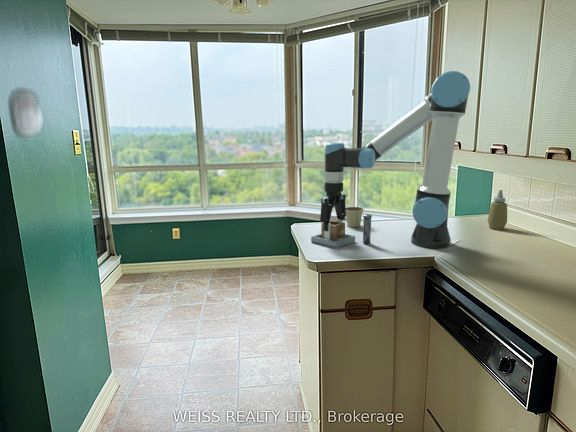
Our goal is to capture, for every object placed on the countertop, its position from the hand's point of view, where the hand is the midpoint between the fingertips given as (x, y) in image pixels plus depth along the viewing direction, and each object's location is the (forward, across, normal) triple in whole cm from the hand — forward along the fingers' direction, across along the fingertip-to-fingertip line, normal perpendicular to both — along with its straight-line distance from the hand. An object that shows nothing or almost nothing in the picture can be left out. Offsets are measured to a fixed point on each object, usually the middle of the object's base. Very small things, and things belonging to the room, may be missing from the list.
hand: (333, 236), depth 161 cm
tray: (+2, 0, 0) cm, 2 cm away
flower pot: (+3, -28, -9) cm, 30 cm away
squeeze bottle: (+2, -68, +43) cm, 81 cm away
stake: (+2, -8, +12) cm, 14 cm away
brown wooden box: (0, 0, 0) cm, 0 cm away
